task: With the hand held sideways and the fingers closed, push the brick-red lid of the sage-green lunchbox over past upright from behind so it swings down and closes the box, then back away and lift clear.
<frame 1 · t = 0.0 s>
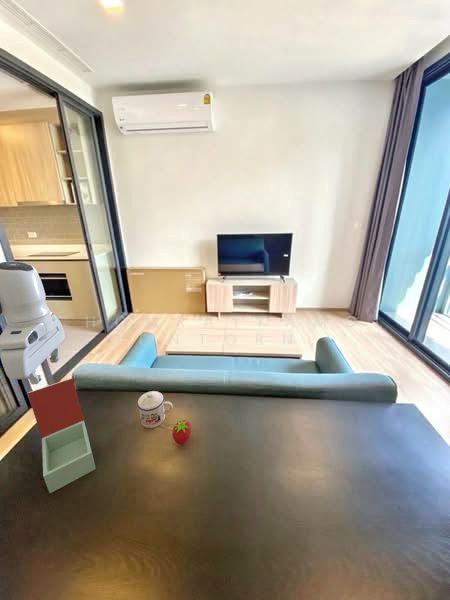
hand: (46, 371, 68), 32 cm above the table, tool pointing down, fingers open, 8 cm apart
teacup with lid: (157, 419, 93), on the table
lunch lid: (57, 407, 79), point 15 cm above the table, hinge at 100.0°
strawberry: (183, 443, 83), on the table
lunchbox: (70, 461, 77), on the table
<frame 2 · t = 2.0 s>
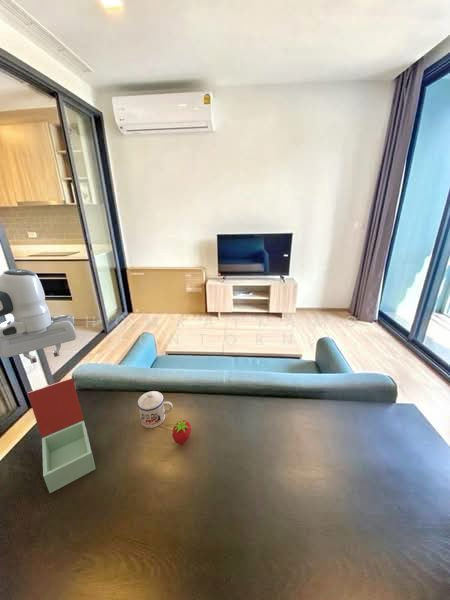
hand: (45, 358, 82), 27 cm above the table, tool pointing down, fingers open, 5 cm apart
nothing on the table moved.
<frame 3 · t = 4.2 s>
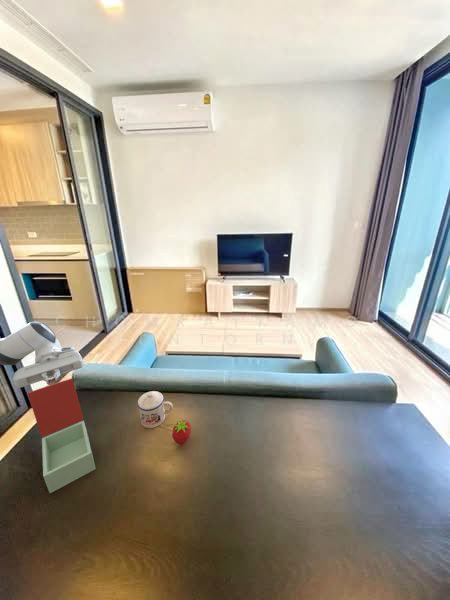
hand: (51, 380, 83), 20 cm above the table, tool horizontal, fingers closed
nothing on the table moved.
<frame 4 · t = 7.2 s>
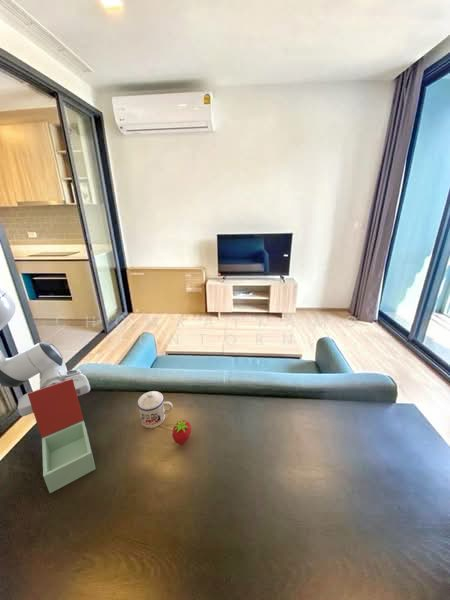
hand: (57, 408, 79), 14 cm above the table, tool horizontal, fingers closed, pressing on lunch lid
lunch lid: (57, 407, 78), point 15 cm above the table, hinge at 98.4°, touching gripper
everything else where it was.
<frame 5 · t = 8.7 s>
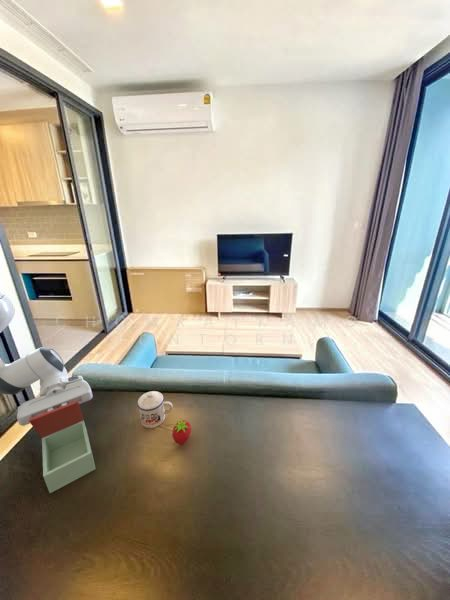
hand: (58, 417, 76), 14 cm above the table, tool horizontal, fingers closed
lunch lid: (59, 419, 75), point 14 cm above the table, hinge at 60.0°
everything else where it was.
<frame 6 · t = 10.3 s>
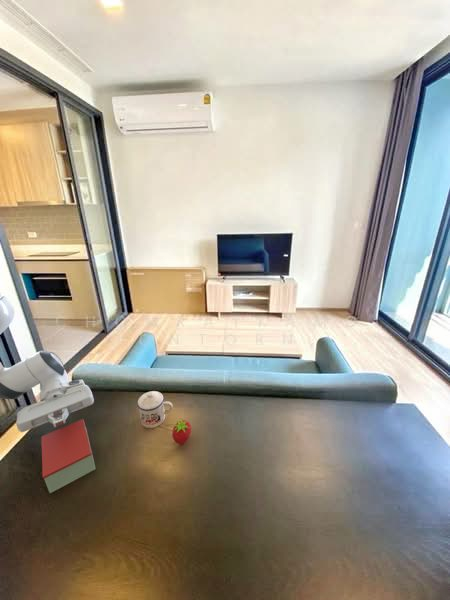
hand: (59, 423, 74), 14 cm above the table, tool horizontal, fingers closed
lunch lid: (65, 445, 74), point 7 cm above the table, hinge at -0.2°
everything else where it was.
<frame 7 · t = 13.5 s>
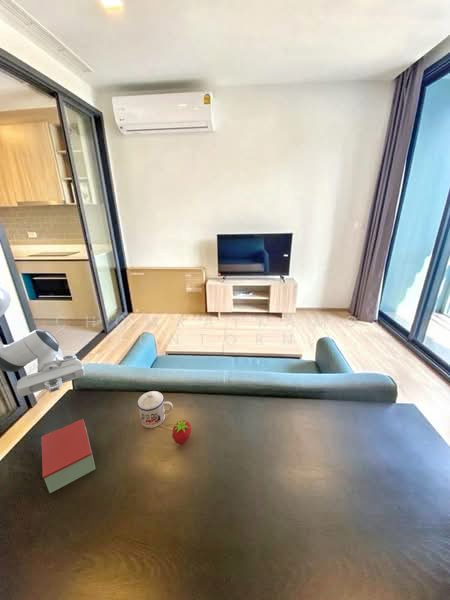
hand: (54, 389, 84), 16 cm above the table, tool horizontal, fingers closed
nothing on the table moved.
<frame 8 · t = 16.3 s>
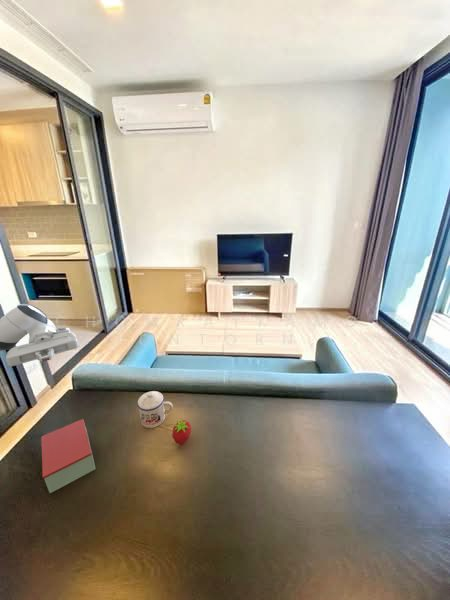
hand: (45, 359, 80), 28 cm above the table, tool horizontal, fingers closed
nothing on the table moved.
at the end: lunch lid at +0° (first picture: +100°); teacup with lid moved 0.2 cm from its start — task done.
